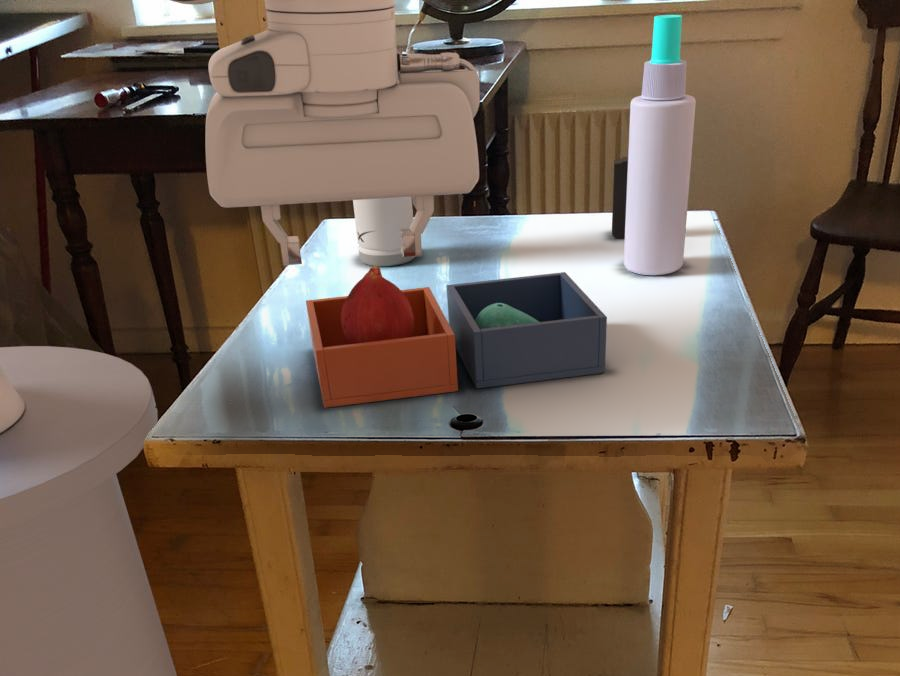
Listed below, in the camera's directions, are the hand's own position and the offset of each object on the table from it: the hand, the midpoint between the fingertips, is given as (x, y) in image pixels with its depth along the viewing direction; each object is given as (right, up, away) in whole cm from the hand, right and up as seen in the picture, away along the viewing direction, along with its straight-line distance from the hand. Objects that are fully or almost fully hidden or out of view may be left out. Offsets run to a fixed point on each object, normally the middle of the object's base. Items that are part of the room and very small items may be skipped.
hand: (352, 259), depth 77 cm
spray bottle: (+28, +8, +24) cm, 38 cm away
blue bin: (+14, -6, +6) cm, 16 cm away
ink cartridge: (+28, +16, +33) cm, 46 cm away
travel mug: (0, +12, +30) cm, 33 cm away
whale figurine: (+13, -6, +6) cm, 16 cm away
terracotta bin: (+2, -8, +5) cm, 9 cm away
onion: (+2, -7, +4) cm, 9 cm away
